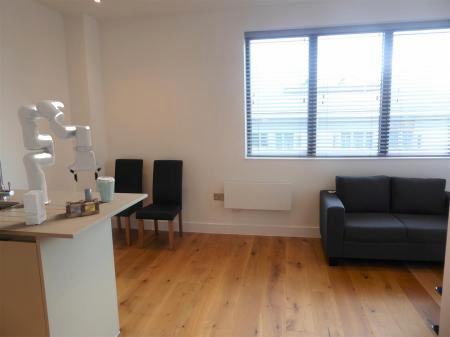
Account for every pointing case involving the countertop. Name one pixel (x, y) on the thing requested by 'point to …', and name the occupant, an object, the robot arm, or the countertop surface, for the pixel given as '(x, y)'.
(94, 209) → the socket block
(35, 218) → the skincare box
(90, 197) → the peg
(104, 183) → the disposable coffee cup
